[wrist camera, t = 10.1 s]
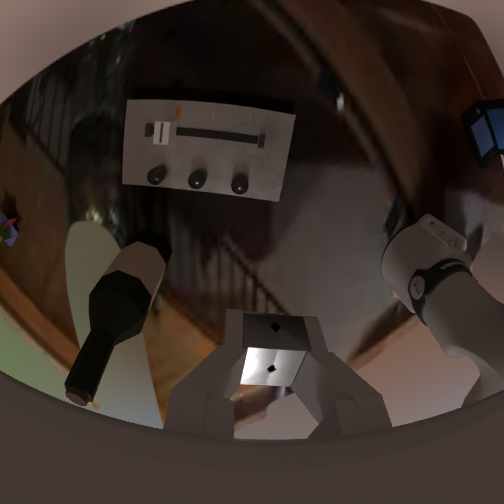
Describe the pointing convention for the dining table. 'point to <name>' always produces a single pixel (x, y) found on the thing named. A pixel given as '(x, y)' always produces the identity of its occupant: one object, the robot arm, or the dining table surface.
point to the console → (208, 148)
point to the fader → (165, 132)
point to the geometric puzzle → (7, 230)
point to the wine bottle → (118, 309)
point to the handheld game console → (486, 129)
